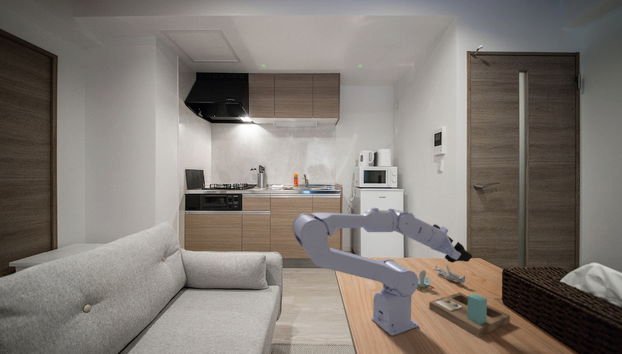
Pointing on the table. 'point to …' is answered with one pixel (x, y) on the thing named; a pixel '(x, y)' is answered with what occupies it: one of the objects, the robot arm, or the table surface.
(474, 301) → the teal rectangular block
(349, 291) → the table surface
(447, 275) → the soldier figure
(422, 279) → the pacifier
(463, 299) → the wooden sorting tray
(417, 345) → the table surface
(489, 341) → the table surface
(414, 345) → the table surface
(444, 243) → the robot arm
